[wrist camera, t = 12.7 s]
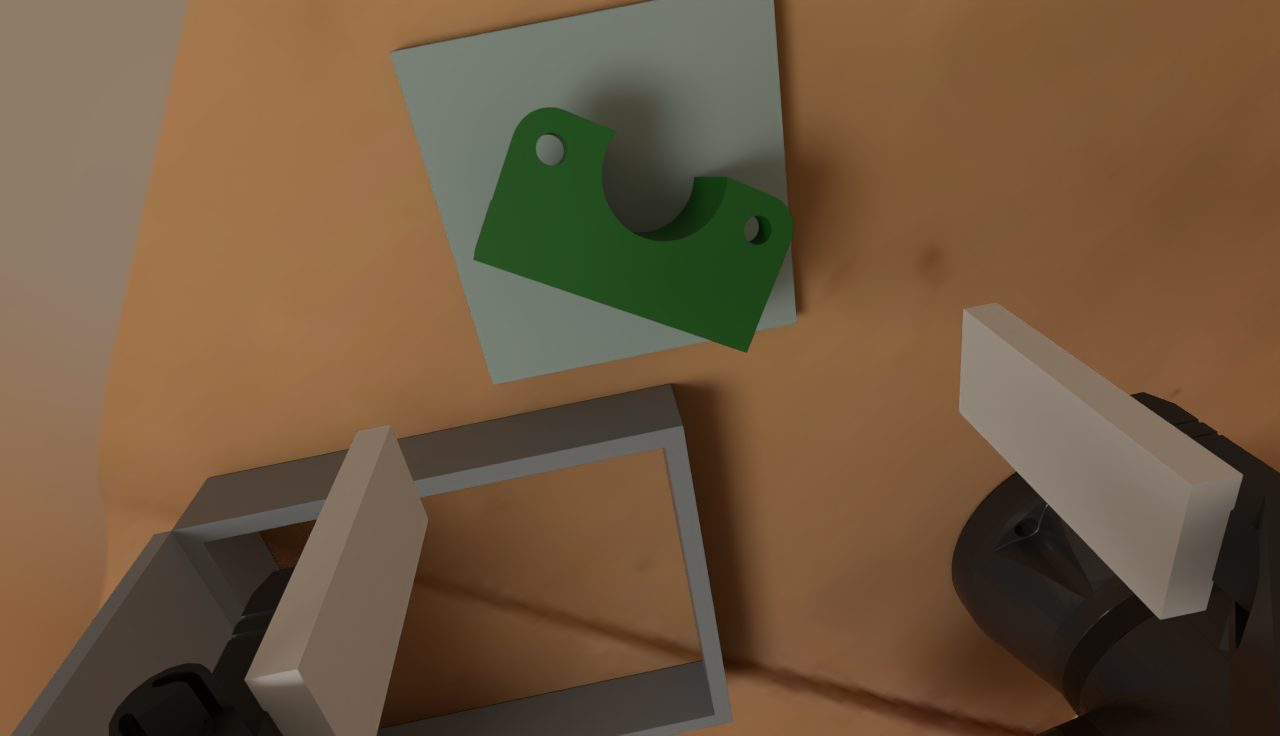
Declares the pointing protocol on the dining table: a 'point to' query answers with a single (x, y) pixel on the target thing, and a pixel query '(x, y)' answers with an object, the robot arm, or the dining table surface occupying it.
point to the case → (438, 462)
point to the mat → (633, 162)
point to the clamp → (633, 237)
